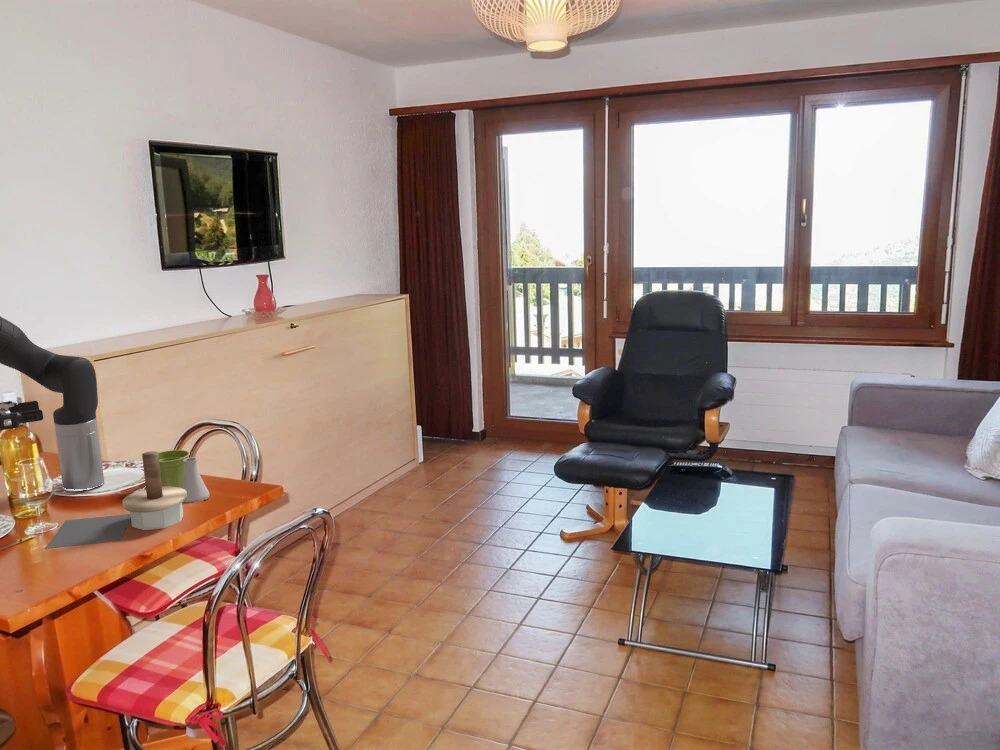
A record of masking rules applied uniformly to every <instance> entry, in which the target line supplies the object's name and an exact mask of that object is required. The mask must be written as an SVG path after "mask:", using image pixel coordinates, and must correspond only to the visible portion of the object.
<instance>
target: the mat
mask: <svg viewBox="0 0 1000 750" xmlns="http://www.w3.org/2000/svg"><path fill="white" fill-rule="evenodd" d="M130 523H131V515H130V513H129V514H117V515H109V516H99V517H98V516H97V517H88V518H87V517H86V518H76V519H68V520H67V519H66V520H65V521H64V522H63V523H62V524H61V526H60V528H58V530H57V532H55V534H54V535H53V537H52V538H51V539H50V541H49V543H47V545H46V546H45V549H54V548H55V549H56V548H62V547H63V548H65V547H73V546H74V547H75V546H83V545H93V544H101V543H103V544H104V543H111V542H120V541H121V538H122V536H123V535H124V534H125V531H126V529H127V527H128V526H129V524H130Z"/></svg>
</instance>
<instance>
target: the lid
mask: <svg viewBox="0 0 1000 750" xmlns="http://www.w3.org/2000/svg"><path fill="white" fill-rule="evenodd" d="M158 453H159V452H158V451H154V450H152V451H146V452H143V453H142V454H141V456H142V465H143V466H142V467H143V475H144V483H145V489H140V490H138V491H135V492H132V493H130V494H128V495H126V496H125V497H124V498H123V499H122V508H123V509H124V510H125V511H128V512H130V511H131V512H155V511H161V510H165V509H169V508H172V507H175V506H177V505H179V504H181V503H182V504H183V503H185V502H184V501H185V500H186V499H187V492H186V490H184V489H183V488H179V487H170V486H166V487H162V483H161V474H160V465H159V456H158Z"/></svg>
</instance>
